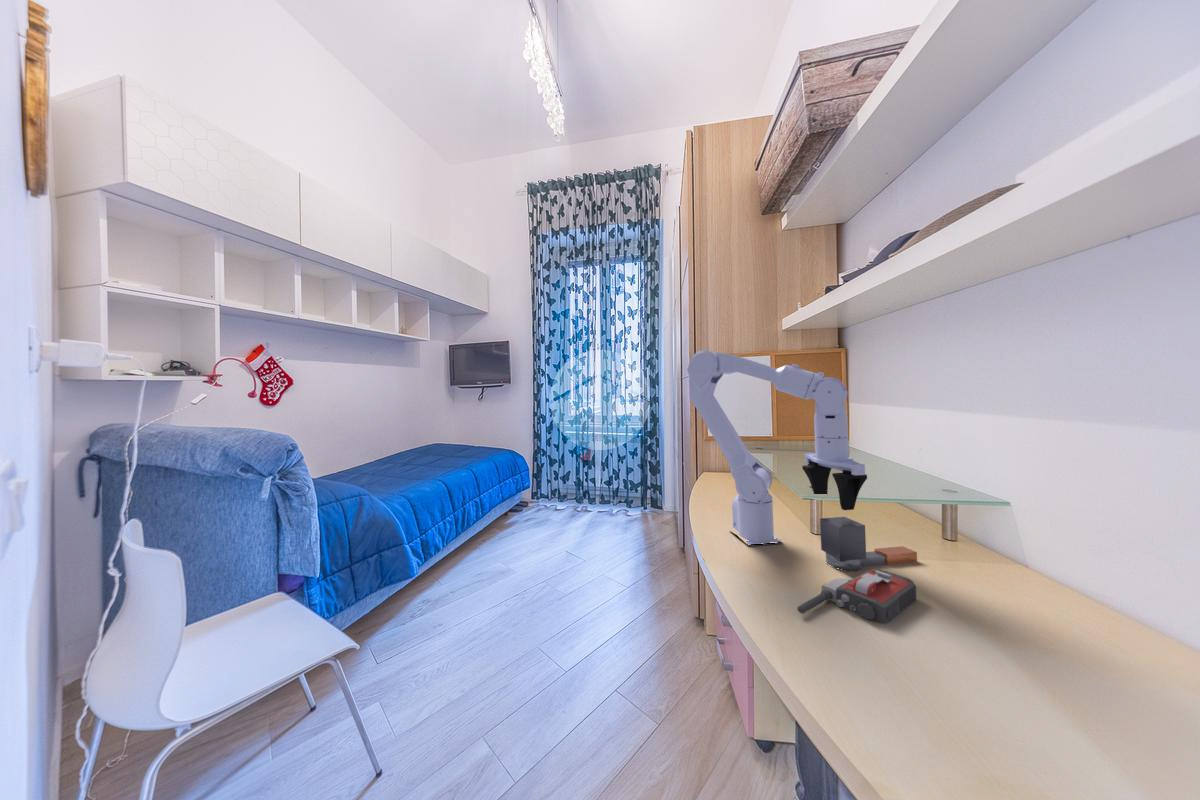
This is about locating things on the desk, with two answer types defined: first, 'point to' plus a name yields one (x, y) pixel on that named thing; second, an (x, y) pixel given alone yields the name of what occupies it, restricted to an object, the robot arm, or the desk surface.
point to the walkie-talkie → (868, 595)
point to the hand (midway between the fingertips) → (833, 503)
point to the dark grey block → (843, 538)
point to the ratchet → (875, 558)
